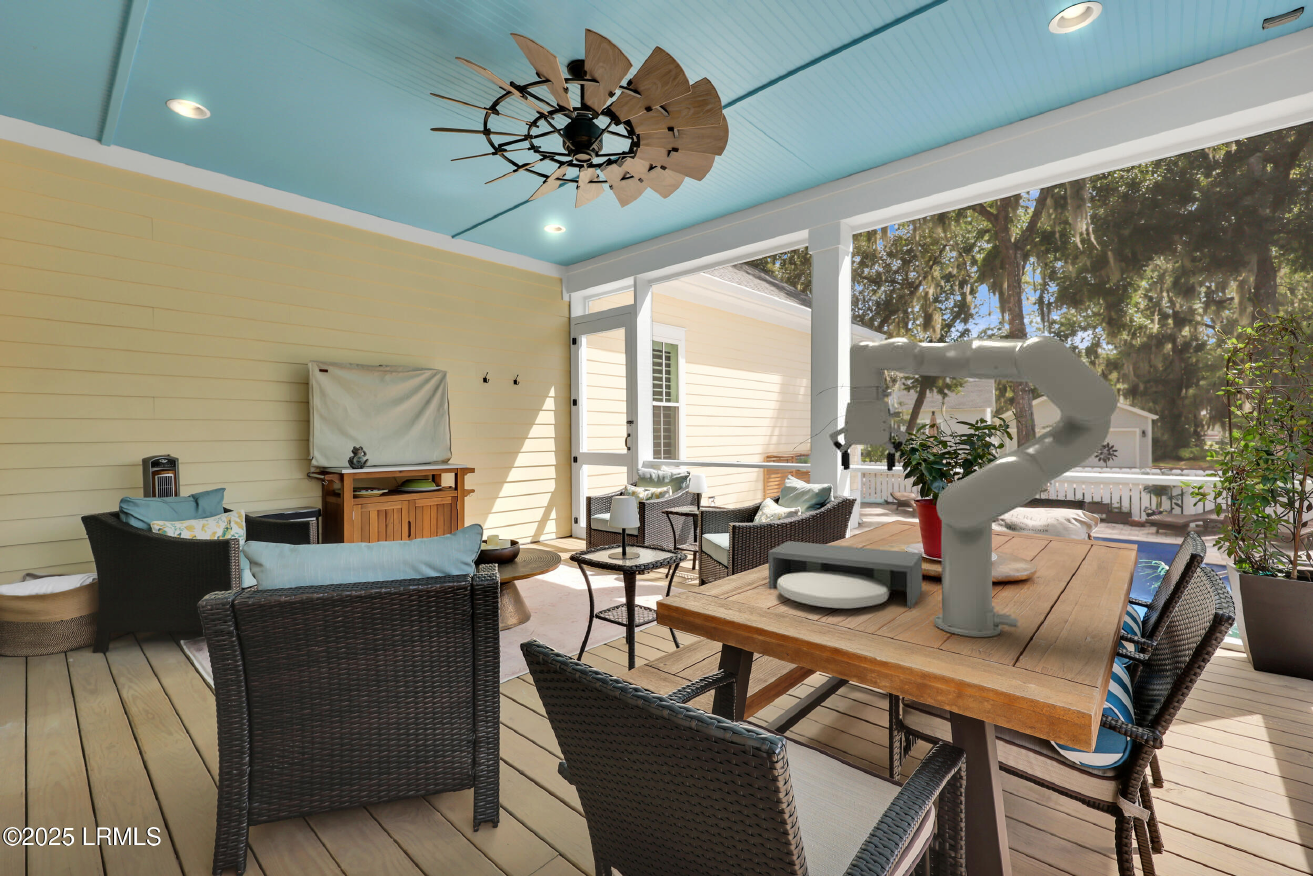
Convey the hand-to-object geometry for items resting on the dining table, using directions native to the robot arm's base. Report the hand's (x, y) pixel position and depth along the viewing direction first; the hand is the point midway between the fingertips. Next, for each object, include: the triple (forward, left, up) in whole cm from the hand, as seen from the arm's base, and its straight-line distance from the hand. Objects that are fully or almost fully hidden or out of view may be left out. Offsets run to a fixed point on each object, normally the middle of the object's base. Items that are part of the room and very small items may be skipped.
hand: (867, 470), depth 135 cm
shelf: (+10, -17, -33) cm, 39 cm away
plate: (+11, -7, -34) cm, 36 cm away
